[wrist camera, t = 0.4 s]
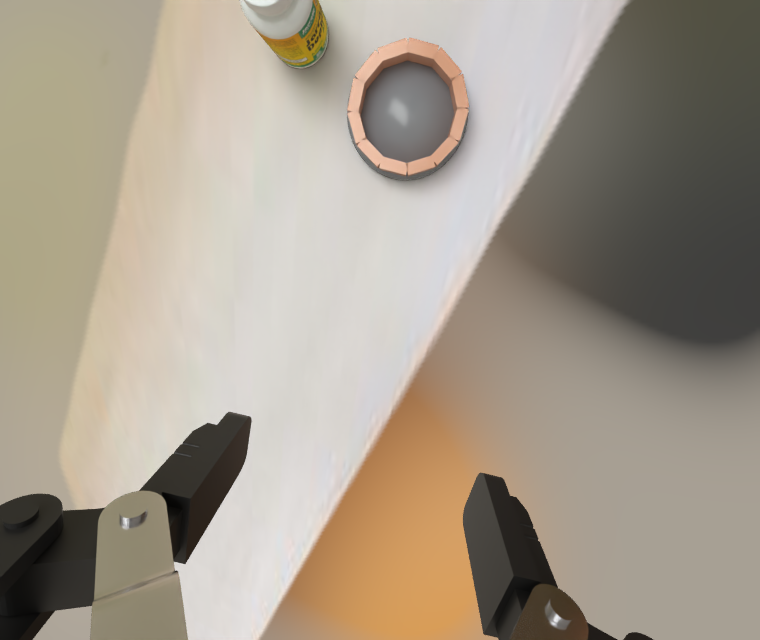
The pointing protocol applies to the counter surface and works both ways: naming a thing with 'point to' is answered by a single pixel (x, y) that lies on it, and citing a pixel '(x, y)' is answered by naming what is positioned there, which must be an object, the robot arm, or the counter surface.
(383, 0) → the counter surface
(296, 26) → the supplement bottle
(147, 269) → the counter surface
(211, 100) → the counter surface
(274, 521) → the counter surface
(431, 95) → the ring tray
